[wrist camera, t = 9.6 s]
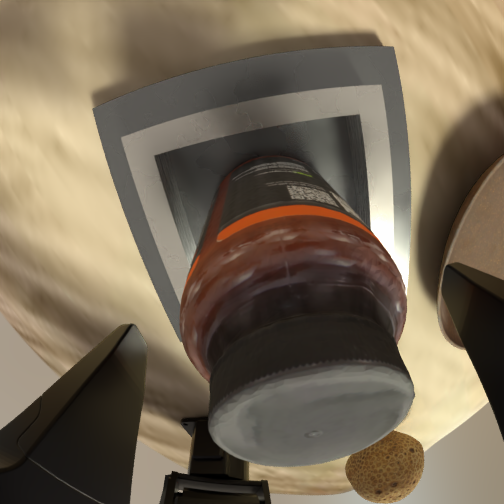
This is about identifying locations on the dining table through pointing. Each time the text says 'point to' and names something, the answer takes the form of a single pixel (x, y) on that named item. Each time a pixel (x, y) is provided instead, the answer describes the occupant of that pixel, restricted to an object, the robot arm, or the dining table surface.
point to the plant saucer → (476, 238)
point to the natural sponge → (387, 468)
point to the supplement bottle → (294, 320)
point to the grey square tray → (258, 147)
